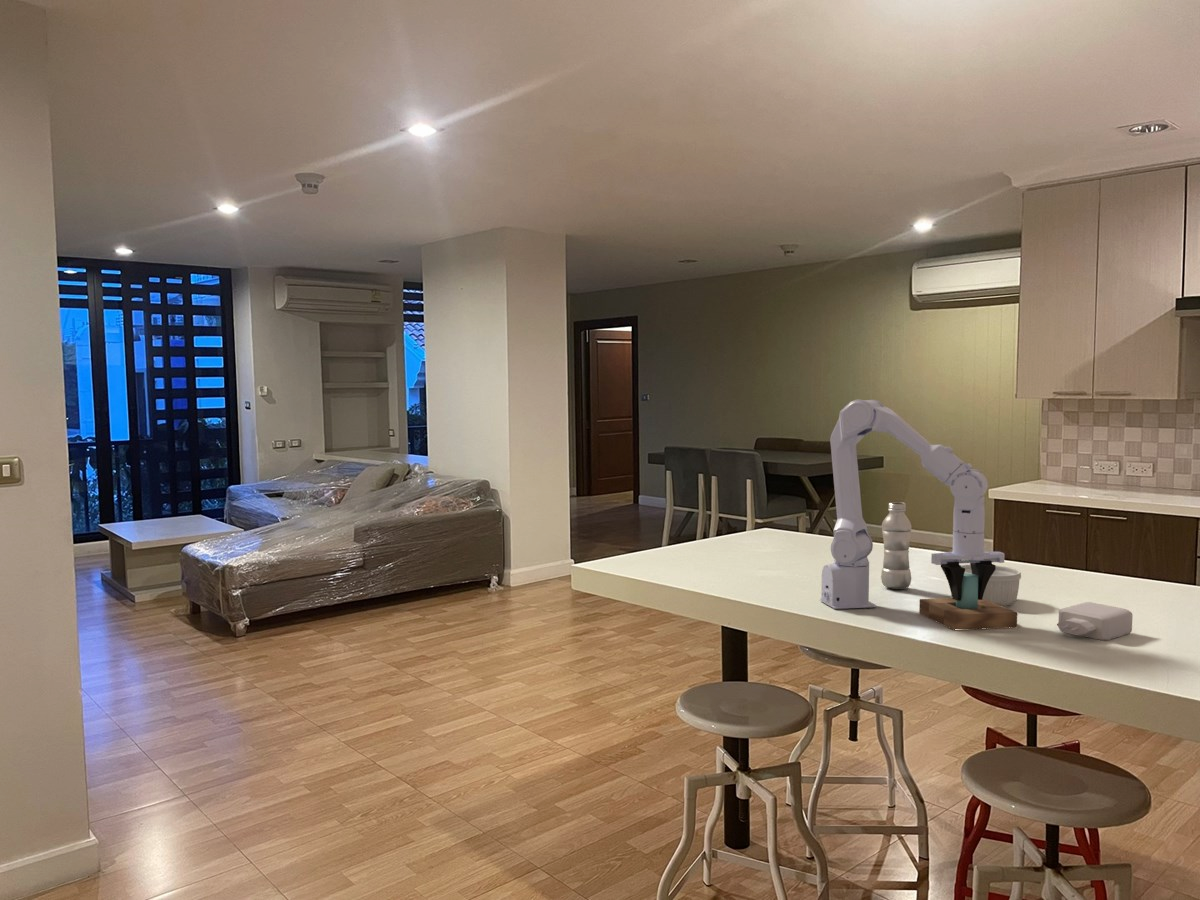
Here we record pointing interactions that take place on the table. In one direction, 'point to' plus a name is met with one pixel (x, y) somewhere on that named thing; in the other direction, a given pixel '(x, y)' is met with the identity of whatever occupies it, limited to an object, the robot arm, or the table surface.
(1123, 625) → the charger
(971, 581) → the peg
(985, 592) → the ramekin
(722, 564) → the table surface
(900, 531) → the plastic bottle
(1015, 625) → the socket
